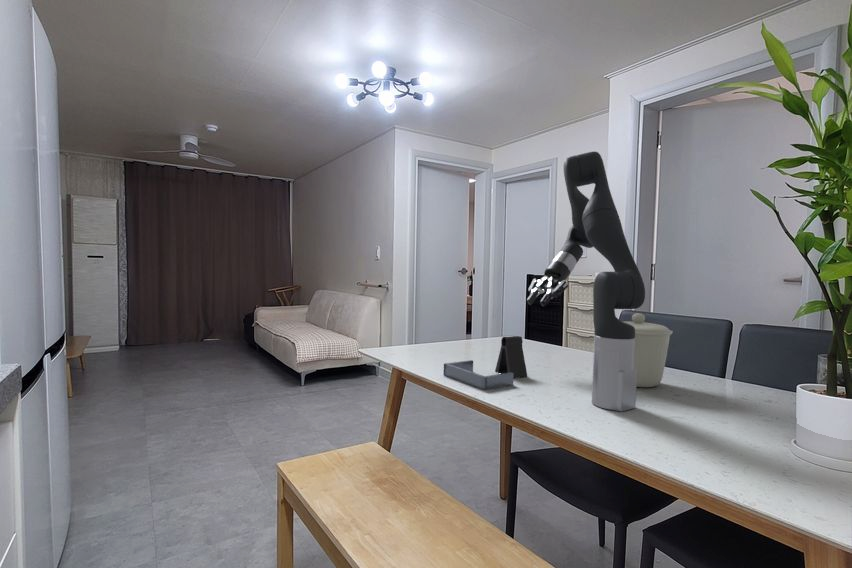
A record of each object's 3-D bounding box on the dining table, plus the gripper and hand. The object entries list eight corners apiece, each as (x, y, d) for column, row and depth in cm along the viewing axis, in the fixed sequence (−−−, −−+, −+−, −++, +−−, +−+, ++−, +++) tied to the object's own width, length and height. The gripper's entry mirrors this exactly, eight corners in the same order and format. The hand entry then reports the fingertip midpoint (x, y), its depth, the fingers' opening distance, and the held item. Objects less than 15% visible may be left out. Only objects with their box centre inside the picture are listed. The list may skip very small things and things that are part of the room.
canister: (592, 381, 130) (595, 312, 129) (618, 372, 142) (621, 309, 141) (656, 395, 117) (659, 318, 116) (679, 384, 129) (682, 314, 128)
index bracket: (513, 384, 124) (513, 372, 124) (484, 390, 118) (484, 377, 118) (471, 370, 140) (471, 360, 140) (443, 374, 134) (443, 363, 134)
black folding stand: (527, 377, 134) (528, 338, 133) (511, 378, 131) (512, 339, 131) (510, 370, 142) (511, 334, 142) (495, 371, 140) (496, 334, 139)
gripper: (539, 259, 152) (513, 294, 146) (573, 259, 140) (547, 297, 134) (549, 275, 155) (524, 309, 149) (583, 276, 143) (557, 313, 137)
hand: (535, 303), depth 141 cm, fingers open, 5 cm apart
